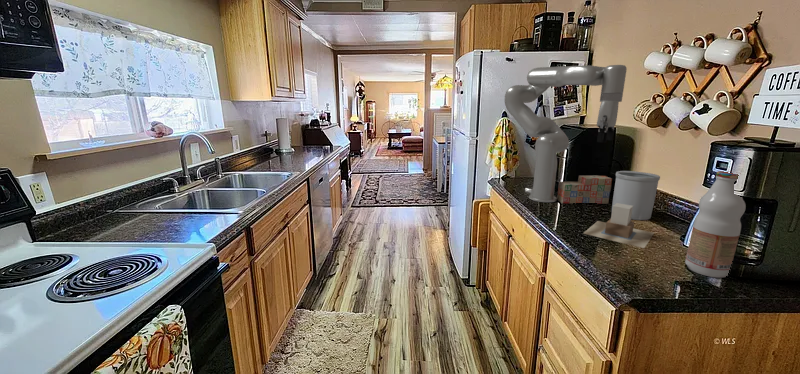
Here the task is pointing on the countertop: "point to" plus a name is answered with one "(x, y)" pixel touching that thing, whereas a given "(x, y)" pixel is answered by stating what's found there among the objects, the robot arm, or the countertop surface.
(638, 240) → the board
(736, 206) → the fruit juice
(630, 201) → the utensil holder
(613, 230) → the walnut foundation
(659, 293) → the countertop surface
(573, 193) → the stack of blocks
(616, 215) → the cream block
